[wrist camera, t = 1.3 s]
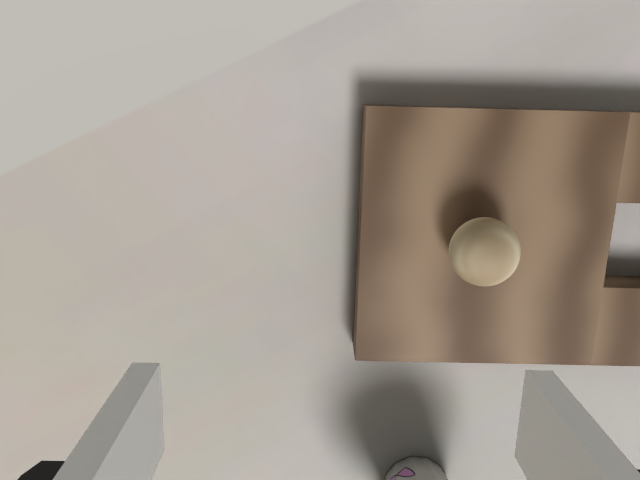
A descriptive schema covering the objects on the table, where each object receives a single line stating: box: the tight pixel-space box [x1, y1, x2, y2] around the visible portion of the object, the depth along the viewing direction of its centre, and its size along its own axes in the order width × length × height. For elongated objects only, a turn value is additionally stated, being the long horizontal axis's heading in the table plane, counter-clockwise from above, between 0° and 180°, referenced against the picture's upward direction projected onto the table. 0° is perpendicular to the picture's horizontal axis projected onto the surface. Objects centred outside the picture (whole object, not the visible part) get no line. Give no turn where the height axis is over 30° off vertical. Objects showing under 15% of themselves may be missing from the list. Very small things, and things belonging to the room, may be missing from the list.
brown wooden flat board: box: [353, 105, 640, 366], centre depth 36 cm, size 24×16×2 cm, turn 89°
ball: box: [449, 217, 521, 286], centre depth 33 cm, size 4×4×4 cm
